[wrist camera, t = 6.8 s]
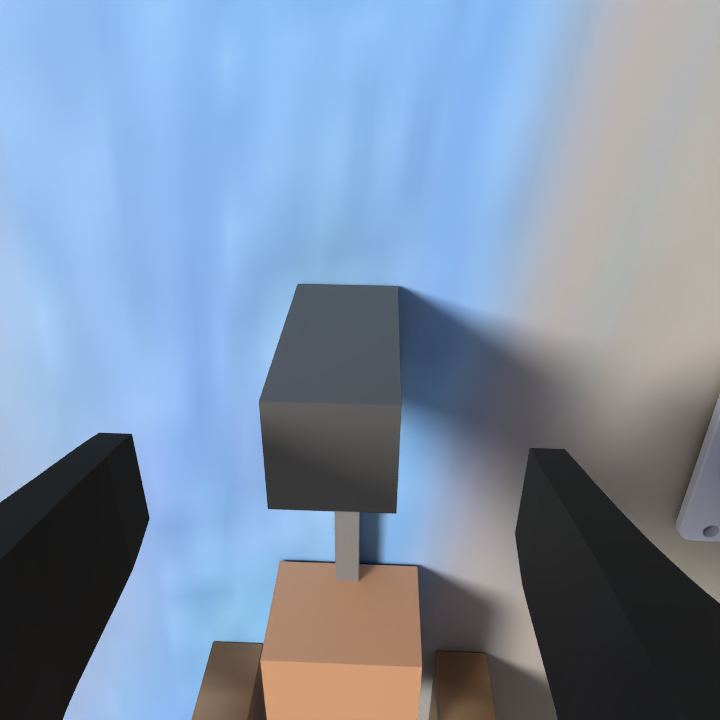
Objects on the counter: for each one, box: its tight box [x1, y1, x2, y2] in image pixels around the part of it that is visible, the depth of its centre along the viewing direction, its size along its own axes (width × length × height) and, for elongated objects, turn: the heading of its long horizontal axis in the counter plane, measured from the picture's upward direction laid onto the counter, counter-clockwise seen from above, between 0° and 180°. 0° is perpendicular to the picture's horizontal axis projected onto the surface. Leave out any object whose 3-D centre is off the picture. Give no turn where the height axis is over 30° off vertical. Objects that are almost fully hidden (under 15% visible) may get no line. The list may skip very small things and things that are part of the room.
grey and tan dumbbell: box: [259, 284, 422, 720], centre depth 19 cm, size 5×16×6 cm, turn 0°
